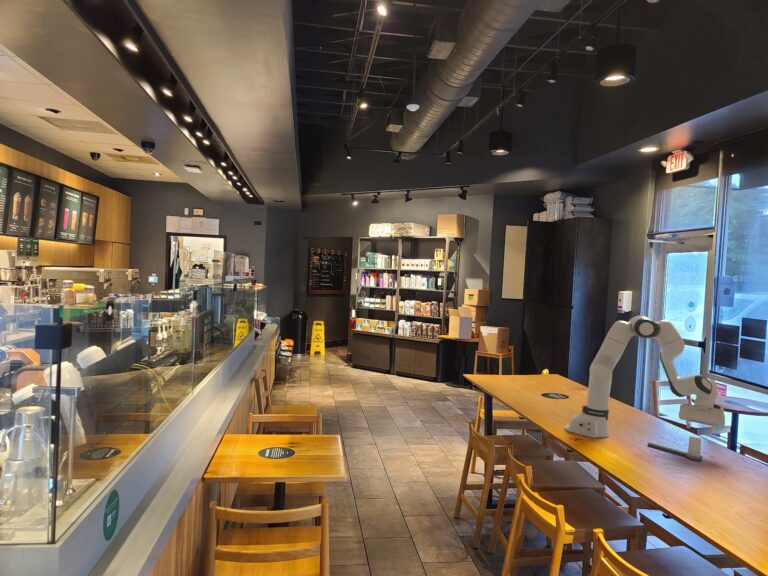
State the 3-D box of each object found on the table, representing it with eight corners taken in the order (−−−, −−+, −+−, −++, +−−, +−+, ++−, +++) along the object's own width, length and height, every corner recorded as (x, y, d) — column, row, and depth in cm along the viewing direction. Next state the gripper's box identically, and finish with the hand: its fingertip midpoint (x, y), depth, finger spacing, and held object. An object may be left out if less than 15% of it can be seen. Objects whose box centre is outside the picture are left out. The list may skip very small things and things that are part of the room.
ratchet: (704, 459, 255) (705, 448, 255) (699, 462, 250) (700, 451, 250) (651, 444, 273) (652, 434, 273) (645, 446, 268) (646, 436, 268)
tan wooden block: (687, 454, 254) (689, 438, 254) (687, 452, 259) (689, 436, 258) (699, 457, 252) (701, 441, 251) (699, 454, 256) (701, 438, 256)
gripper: (680, 399, 274) (675, 421, 267) (727, 408, 262) (722, 431, 254) (681, 406, 278) (676, 428, 271) (727, 415, 265) (722, 438, 258)
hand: (699, 429), depth 262 cm, fingers open, 8 cm apart
